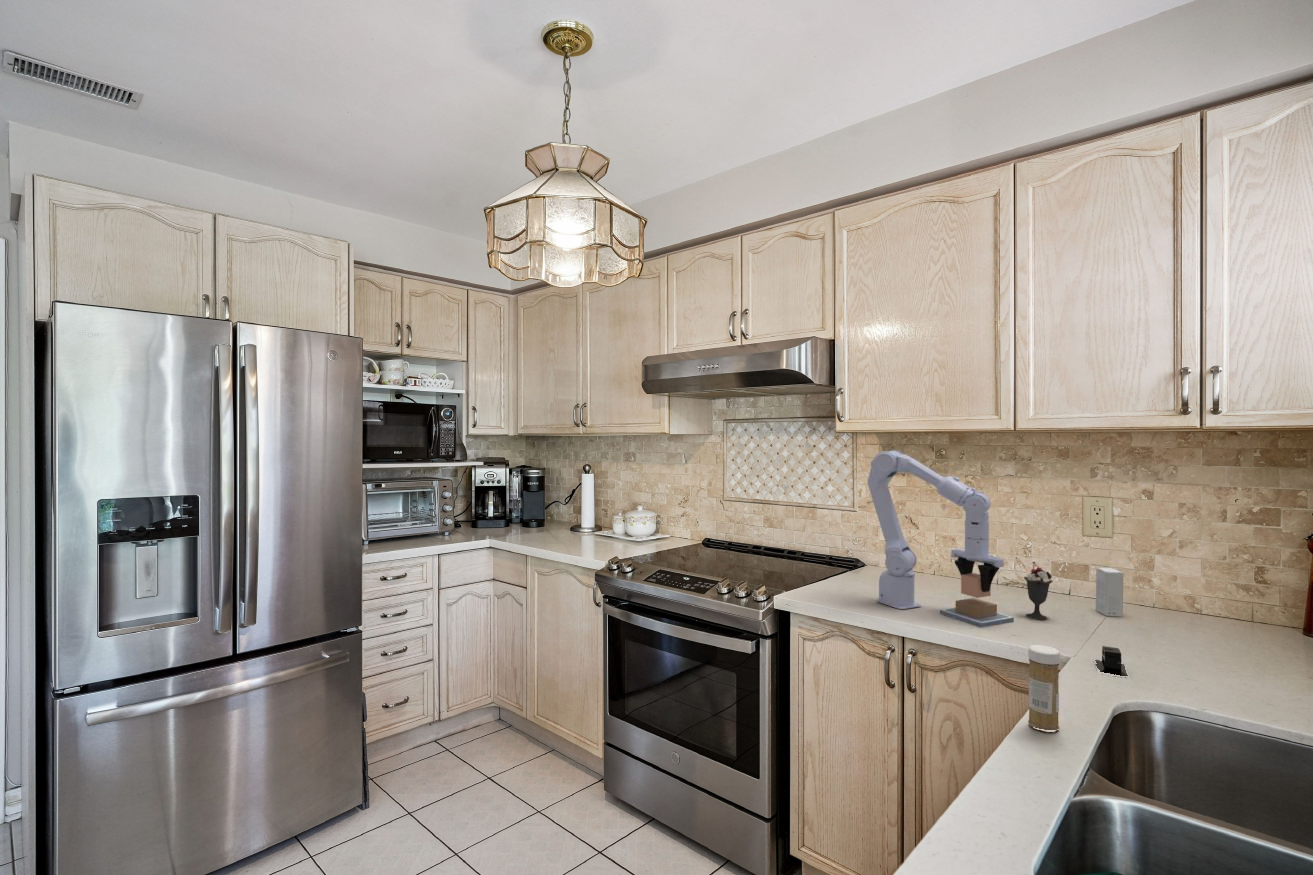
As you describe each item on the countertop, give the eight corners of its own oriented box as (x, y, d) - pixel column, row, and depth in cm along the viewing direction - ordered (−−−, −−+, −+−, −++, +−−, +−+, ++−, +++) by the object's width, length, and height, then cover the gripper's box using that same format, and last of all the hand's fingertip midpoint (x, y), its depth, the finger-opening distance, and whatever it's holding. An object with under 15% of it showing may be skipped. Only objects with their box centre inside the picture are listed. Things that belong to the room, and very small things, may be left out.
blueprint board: (939, 613, 172) (939, 598, 172) (971, 608, 177) (971, 594, 177) (981, 627, 161) (981, 611, 160) (1013, 621, 165) (1013, 606, 165)
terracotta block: (961, 593, 170) (961, 574, 170) (974, 591, 172) (974, 572, 172) (977, 597, 165) (977, 578, 165) (990, 595, 167) (990, 576, 167)
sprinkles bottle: (1065, 730, 106) (1066, 651, 106) (1047, 736, 104) (1048, 654, 104) (1039, 719, 110) (1040, 642, 110) (1021, 724, 108) (1022, 646, 108)
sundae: (1021, 617, 168) (1023, 561, 168) (1023, 611, 174) (1025, 557, 173) (1050, 622, 165) (1053, 565, 164) (1051, 616, 170) (1053, 560, 170)
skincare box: (1123, 617, 169) (1124, 572, 169) (1105, 616, 170) (1106, 571, 170) (1112, 610, 175) (1112, 567, 175) (1094, 609, 176) (1095, 567, 176)
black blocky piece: (1087, 658, 141) (1088, 638, 140) (1128, 664, 137) (1128, 643, 137) (1094, 677, 130) (1095, 655, 130) (1138, 685, 126) (1139, 662, 126)
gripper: (943, 534, 174) (943, 584, 174) (990, 543, 160) (989, 597, 160) (961, 533, 176) (961, 581, 177) (1009, 541, 163) (1009, 594, 163)
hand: (976, 588), depth 169 cm, fingers closed on terracotta block, 5 cm apart
